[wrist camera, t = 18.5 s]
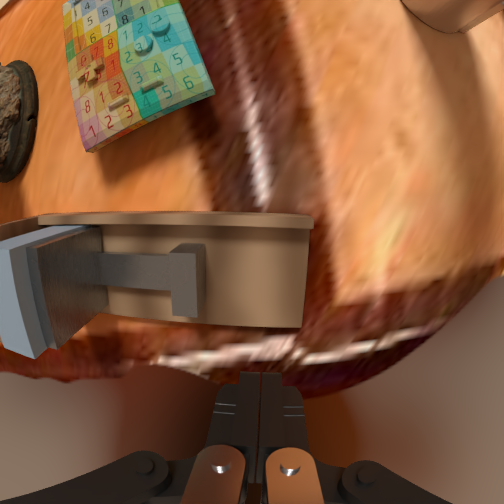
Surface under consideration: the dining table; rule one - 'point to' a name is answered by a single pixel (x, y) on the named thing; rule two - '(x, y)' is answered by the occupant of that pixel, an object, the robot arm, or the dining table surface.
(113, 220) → the shelf
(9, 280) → the pale blue block
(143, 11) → the puzzle game
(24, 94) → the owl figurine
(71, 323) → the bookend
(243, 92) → the dining table surface
